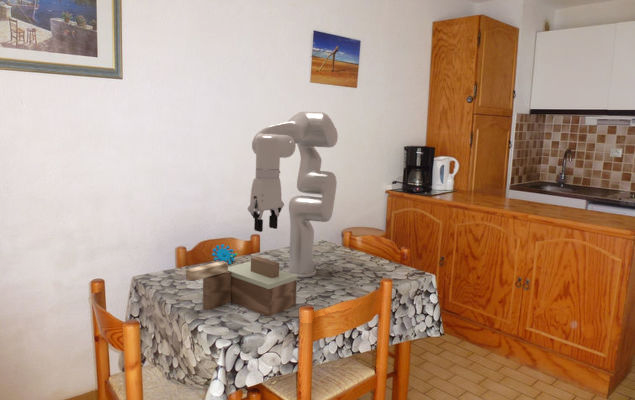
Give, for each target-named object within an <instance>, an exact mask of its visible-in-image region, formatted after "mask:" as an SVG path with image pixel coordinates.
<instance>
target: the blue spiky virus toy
mask: <svg viewBox="0 0 635 400" xmlns="http://www.w3.org/2000/svg"><path fill="white" fill-rule="evenodd" d="M211 256H212V257H213V261H214V262H216V261H217V262H220V261H224V262H227V263H228V266H229V265H231V264H232V263H233V262H234V261H235V257H237V256H238V252H235V253H234V249H233V248H231V249H230V246H229V245H226V247H225V244H224V243H223V244H222V243H221V245H218V244H217V245H216V246H215V247H214V248H213V249H212V253H211Z"/></svg>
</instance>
